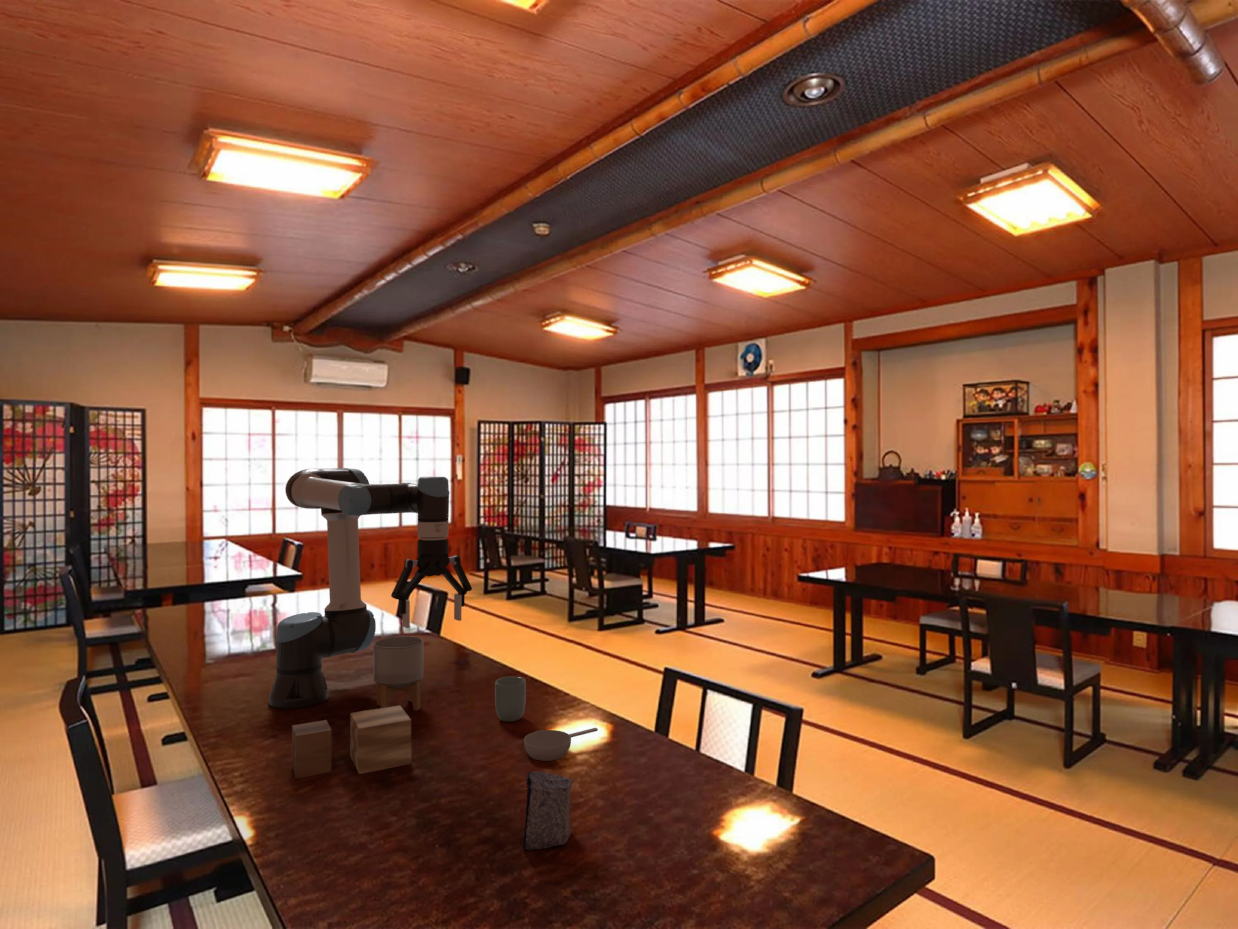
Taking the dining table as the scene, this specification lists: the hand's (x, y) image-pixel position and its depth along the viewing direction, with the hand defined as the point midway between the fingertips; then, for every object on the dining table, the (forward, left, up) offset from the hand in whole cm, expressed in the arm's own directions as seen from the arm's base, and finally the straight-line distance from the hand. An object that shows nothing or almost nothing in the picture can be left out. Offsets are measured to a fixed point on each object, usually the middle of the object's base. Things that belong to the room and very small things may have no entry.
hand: (432, 623), depth 181 cm
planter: (-19, +7, -27) cm, 34 cm away
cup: (+13, +15, -27) cm, 33 cm away
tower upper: (+4, -20, -22) cm, 30 cm away
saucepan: (+36, +5, -27) cm, 45 cm away
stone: (+56, -29, -27) cm, 68 cm away
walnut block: (-5, -31, -26) cm, 41 cm away
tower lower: (+4, -20, -27) cm, 33 cm away
